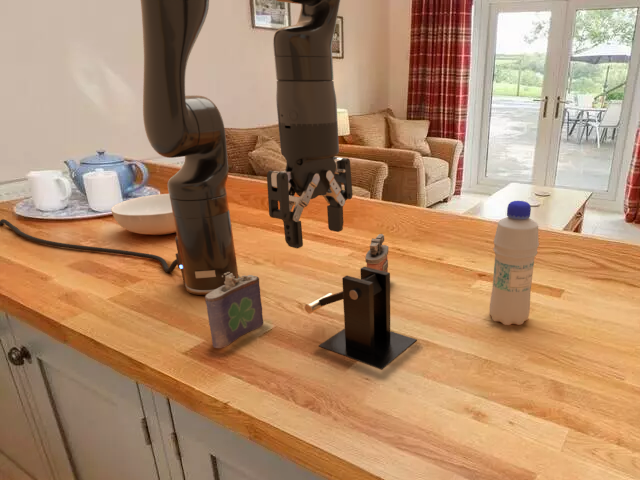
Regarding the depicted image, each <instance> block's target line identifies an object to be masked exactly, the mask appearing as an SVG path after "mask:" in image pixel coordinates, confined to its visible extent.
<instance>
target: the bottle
mask: <svg viewBox="0 0 640 480" xmlns="http://www.w3.org/2000/svg"><path fill="white" fill-rule="evenodd" d="M531 206H532V205H530V203H529V202H527V201H524V200H513V201H511V202H509V203H508V205H507V207H506V217H504V218H501V219H500V220H498V222H497V226H496V230H495V234H494V239H493V244H494V245H493V249H492V250H493V252H494V265H493V266H494V267H493V277H492V287H491V288H492V289H491V295H490V301H489V316H491V320H492V321H493V322H500V323H501V324H503V325H505V326H511V325H517V326H520V325H523V324H524V322H525V321H528V320H529V317H530V311H531V291H532V283H533V274H534V265H535V258H536V256H537V255H538V248H539V246H540V243H539V224H538V223H537V221H535V220H533V219H531V213H532V212H531V211H532V207H531Z"/></svg>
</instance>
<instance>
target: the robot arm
mask: <svg viewBox="0 0 640 480" xmlns="http://www.w3.org/2000/svg"><path fill="white" fill-rule="evenodd" d="M274 1H275V2H280V3H289V4H295V5H296V4H297V5H300V11H299V16H298V19H297V22H296V24H293V25H288V26H287V25H286V26H284V27H283V26H282V27H280V28H279V29H277V30H275V32H274V35H273V39H272V46H273V48H272V49H273V57H274V69H275V79H276V96H275V98H276V101H275V103H276V112H277V124H278V134H279V144H280V153H281V155H282V157H283V158H284V159H285V163H286V164H285V165H286V166H285V169H284V170H281V171H278V170H268V171H267V173H266V187H267V200H268V201H267V202H268V203H267V204H268V215H269V217H270V218H271V219H276V220H277V219H278V220H281V221H282V222H283V230H284V231H283V232H284V241H285V244H286V245H287V246H288V247H290V248H293V249H300V248H302V247H304V240H303V228H302V227H303V225H302V220H300V219H301V216H302V214H303V211H304V209H305V208H307V207H308V206H309V204H310V202H311V200H313V199H316V198H317V197H318V196H322V197H323V198H324V200H325V201H326V203H327V204H328V205H326V211H327V226H328V230H329V231H331V232H335V233H336V232H337V233H339V232H342V231H343V230H344V222H345V221H344V206H345V204H346V201H347V200H351V199H353V195H354V194H353V182H352V170H351V169H352V168H351V160H350V159H349V158H348V157H347V158H346V157H339V156H338V155H339V153H340V144H339V124H338V104H337V95H336V89H335V81H334V64H333V62H334V61H333V60H334V59H333V41H334V35H335V30H336V25H337V19H338V16H339V15H338V14H339V11H340V4H341V0H274ZM140 9H141V25H142V45H143V47H142V48H143V80H142V81H143V85H142V87H143V88H142V118H143V119H142V120H143V126H144V132H145V134H146V135H145V136H146V138H147V141H148V142H149V144H150V146H151V148H152V149H153V150H154V151H155V152H156V153H157V154H158V155H159V156H161V157H164V158H167V159H175V158H182V157H184V162H183V164H182V165H181V168H180V169H179V170H178V171H177V172H176V173H175V174H174V175H173V176H171V177H170V178H169V179H168V181H167V191H168V194H169V196H170V202H171V207H172V213H173V217H174V223H175V228H176V232H175V234H176V236H175V238H174V240H175V245H176V246H175V247H176V251H177V253H175V259H174V260H173V261H172V262H171V264H170V265H168V262H167V261H166V259H164V258H163V257H161V256H160V255H156V254H151V253H147V252H146V253H145V252H137V251H131V250H123V249H116V248H107V247H97V246H88V245H80V244H79V245H78V244H73V243H72V244H71V243H64V242H57V241H52V240H47V239H42V238H39V237H36V236H32V235H30V234H27V233H25V232H24V231H22V230H21V229H19V228H18V227H17V226H15V225H13V224H12V223H11V222H10V221H8V220H7V219H3V218H2V219H0V226H4V225H6V226H7V227H8V228H9V229H11V230H12V231H13V232H15V234H17V235H19V236H21V237H22V238H25V239H26V240H29V241H32V242H35V243H38V244H42V245H47V246H51V247H52V246H53V247H57V248H64V249H71V250H81V251H89V252H97V253H108V254H114V255H115V254H116V255H123V256H129V257H130V256H131V257H137V258H142V259H143V258H145V259H149V260H153V261H154V260H155V261H158V262H159V263H160V264H161V266H162V268H163V271H164V272H165V273H168V274H169V273H172V272H174V270H175V269H176V267H177V268H178V269H180V271H181V277H182V282H183V286H185V290H186V291H187V292H188V293H190V294H192V295H197V296H206V295H207V294H208V293H210V292H212V291H214V290H215V289H217V288H219V287H221V286H223V285H225V283H224V282H225V279H226V277H225V276H227V275H229V274H230V273H232V274H233V276H235V277H234V278H236V279H238V278H240V275H239V270H238V263H237V256H236V255H237V254H236V247H235V241H234V235H233V228H232V220H231V213H230V212H231V211H230V205H229V199H228V192H227V181H228V178H229V161H228V149H227V137H226V129H225V123H224V120H223V116H222V114H221V112H220V109H219V108H218V106H217V105H216V104H215V103H214V102H213V101H212V100H211V99H210V98H208V97H207V96H203V95H199V94H198V95H195V94H194V95H186V73H187V66H188V63H189V62H188V61H189V58H190V56H191V53H192V50H193V48H194V46H195V44H196V42H197V40H198V38H199V36H200V34H201V31H202V29H203V27H204V25H205V22H206V20H207V17H208V13H209V9H210V0H140ZM342 184H343V185H342ZM342 186H343V187H344V189H343V187H342ZM295 195H297V196H295ZM227 272H230V273H229V274H227V275H224V273H227ZM222 275H223V277H222Z"/></svg>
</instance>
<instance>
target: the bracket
mask: <svg viewBox="0 0 640 480" xmlns="http://www.w3.org/2000/svg"><path fill="white" fill-rule="evenodd" d="M359 271H360V278H358V277H354V276H351V275H345V276H343V277H342V278H341V280H342V281H341V282H342V291H343V299H342V301H343V319H344V328H343V329H341V330H340V331H339V332H337V333H335V334H334V335H332V336H331V337H329V338H327V339H326V340H324V341H323V342H321V343H319V345H318V348H322V349H324V350H327V351H330V352H332V353H335V354H337V355H340V356H344V357H346V358H349V359H352V360H355V361H356V362H359V363H362V364H365V365H368V366H371V367H373V368H376V369H379V370H384V369H385V368H386V367H387V366H389V365H390V364H391V363H392V362H394V361H395V360H396V359H397V358H399V357H400V355H402V354H403V353H404V352H406V350H407V349H409V348H410V347H412V346H413V345H414V344H415V343H416V342H417V341H418V339H416V338H413V337H410V336H407V335H404V334H401V333H397V332H394V331H392V330H391V272H385V271H381V270H377V269H373V268H369V267H367V266H363V267H361V268H360V270H359ZM374 274H375V275H376V277H377V280H378V282H379V284H380V287H381V289H382V290H381V291H380V292H378V293H376V294H375V295H373V282H369V281H365V280H362V279H363V278H366V277H369V276H372V275H374Z"/></svg>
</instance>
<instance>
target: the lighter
mask: <svg viewBox="0 0 640 480" xmlns="http://www.w3.org/2000/svg"><path fill="white" fill-rule="evenodd" d="M384 242H385V235H384V234H383V233H379V234H377V236H376V237H375V238H371V240H370V244H369V250H368V251H367V252H366V254H365V256H364V257H365V263H366V267H369V268H373V269H377V270H381V271H385V272H388V268H389V260H388V258H389V257H388V255H389V252H390V251H389V245H387V244H384Z"/></svg>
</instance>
